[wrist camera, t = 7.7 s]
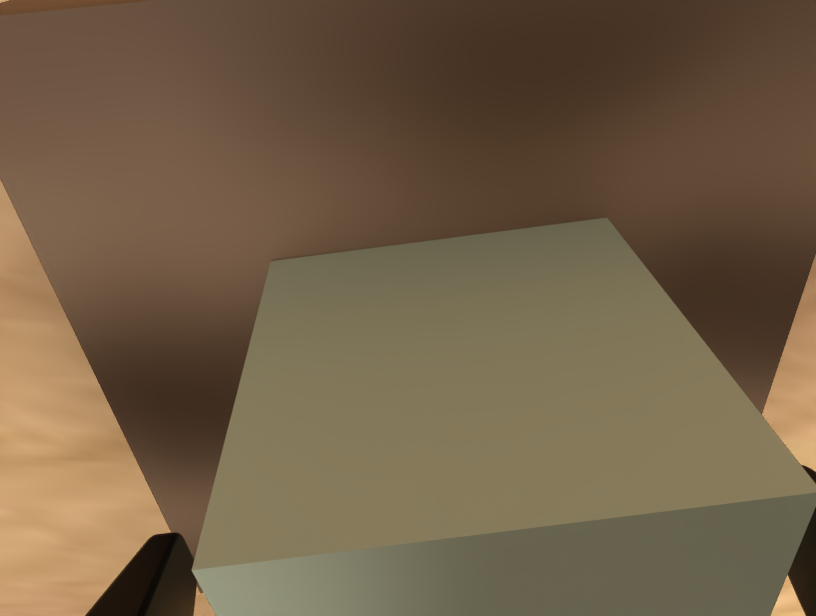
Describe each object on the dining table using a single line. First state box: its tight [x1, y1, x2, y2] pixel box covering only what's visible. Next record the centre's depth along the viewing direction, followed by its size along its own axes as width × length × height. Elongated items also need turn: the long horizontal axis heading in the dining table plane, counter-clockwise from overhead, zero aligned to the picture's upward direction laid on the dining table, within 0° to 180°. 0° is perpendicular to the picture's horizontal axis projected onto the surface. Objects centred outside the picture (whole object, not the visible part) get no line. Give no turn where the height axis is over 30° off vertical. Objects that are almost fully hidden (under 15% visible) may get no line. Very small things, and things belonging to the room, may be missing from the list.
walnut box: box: [0, 0, 816, 593], centre depth 14 cm, size 14×14×4 cm
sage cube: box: [192, 218, 816, 616], centre depth 10 cm, size 6×6×6 cm
